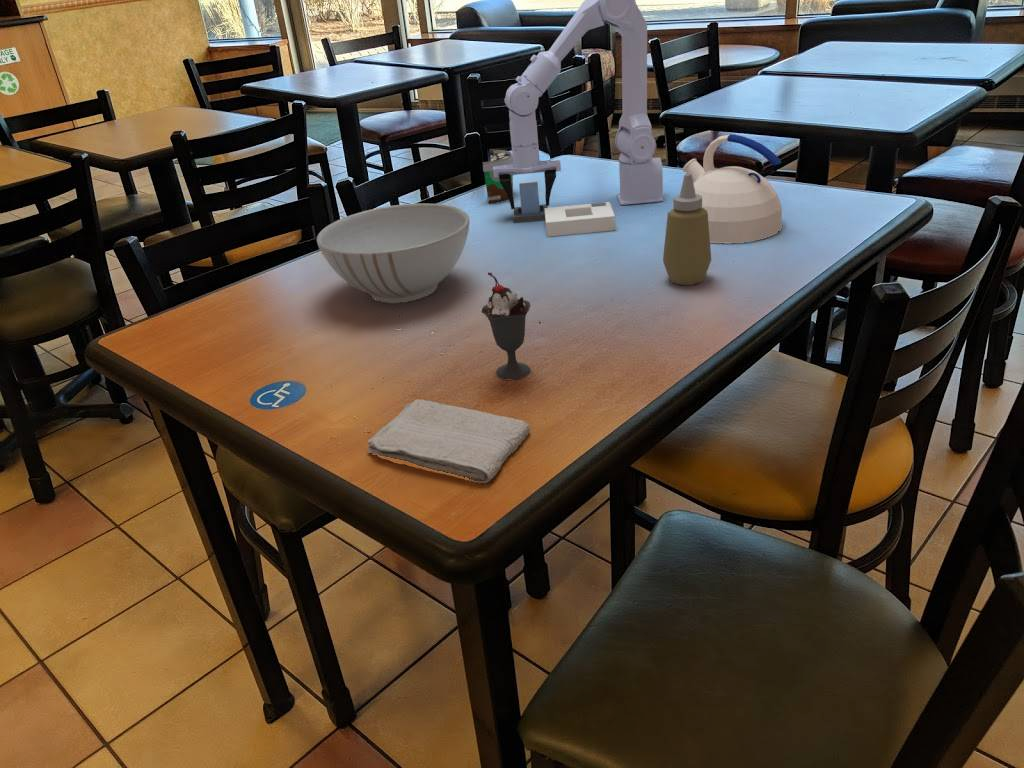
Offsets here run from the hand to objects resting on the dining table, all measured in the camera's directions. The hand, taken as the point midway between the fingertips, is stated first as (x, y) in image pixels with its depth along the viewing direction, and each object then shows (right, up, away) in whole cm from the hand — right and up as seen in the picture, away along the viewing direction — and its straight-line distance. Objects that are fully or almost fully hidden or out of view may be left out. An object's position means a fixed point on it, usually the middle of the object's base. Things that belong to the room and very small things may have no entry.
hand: (530, 206), depth 173 cm
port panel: (+10, -6, -8) cm, 14 cm away
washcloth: (-12, -47, -76) cm, 90 cm away
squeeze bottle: (+26, -22, -38) cm, 51 cm away
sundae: (-4, -38, -61) cm, 72 cm away
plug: (0, -2, +1) cm, 2 cm away
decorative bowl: (-24, -22, -30) cm, 44 cm away
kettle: (+39, -8, -17) cm, 43 cm away
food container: (-6, +6, +16) cm, 18 cm away
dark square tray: (0, -2, +1) cm, 2 cm away
